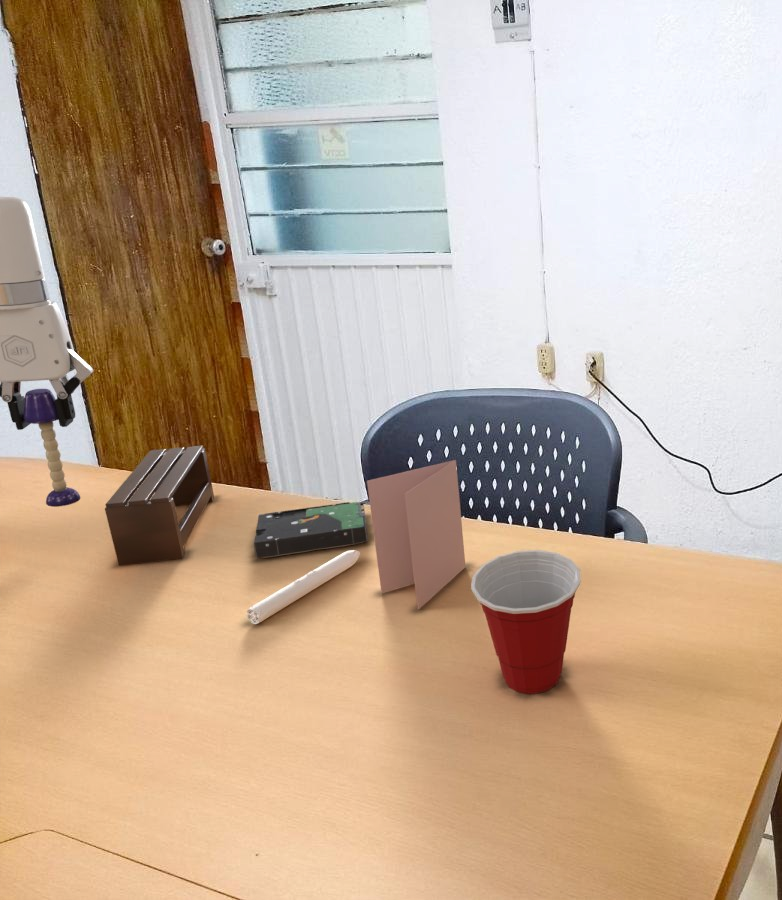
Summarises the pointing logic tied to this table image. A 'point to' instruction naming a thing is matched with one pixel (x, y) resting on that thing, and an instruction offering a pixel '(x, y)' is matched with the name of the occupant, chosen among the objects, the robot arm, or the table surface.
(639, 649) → the table surface
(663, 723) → the table surface
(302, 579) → the marker
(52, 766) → the table surface
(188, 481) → the bench
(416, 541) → the greeting card
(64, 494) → the toy lamp
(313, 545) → the disk drive
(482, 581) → the plastic cup
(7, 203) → the robot arm
